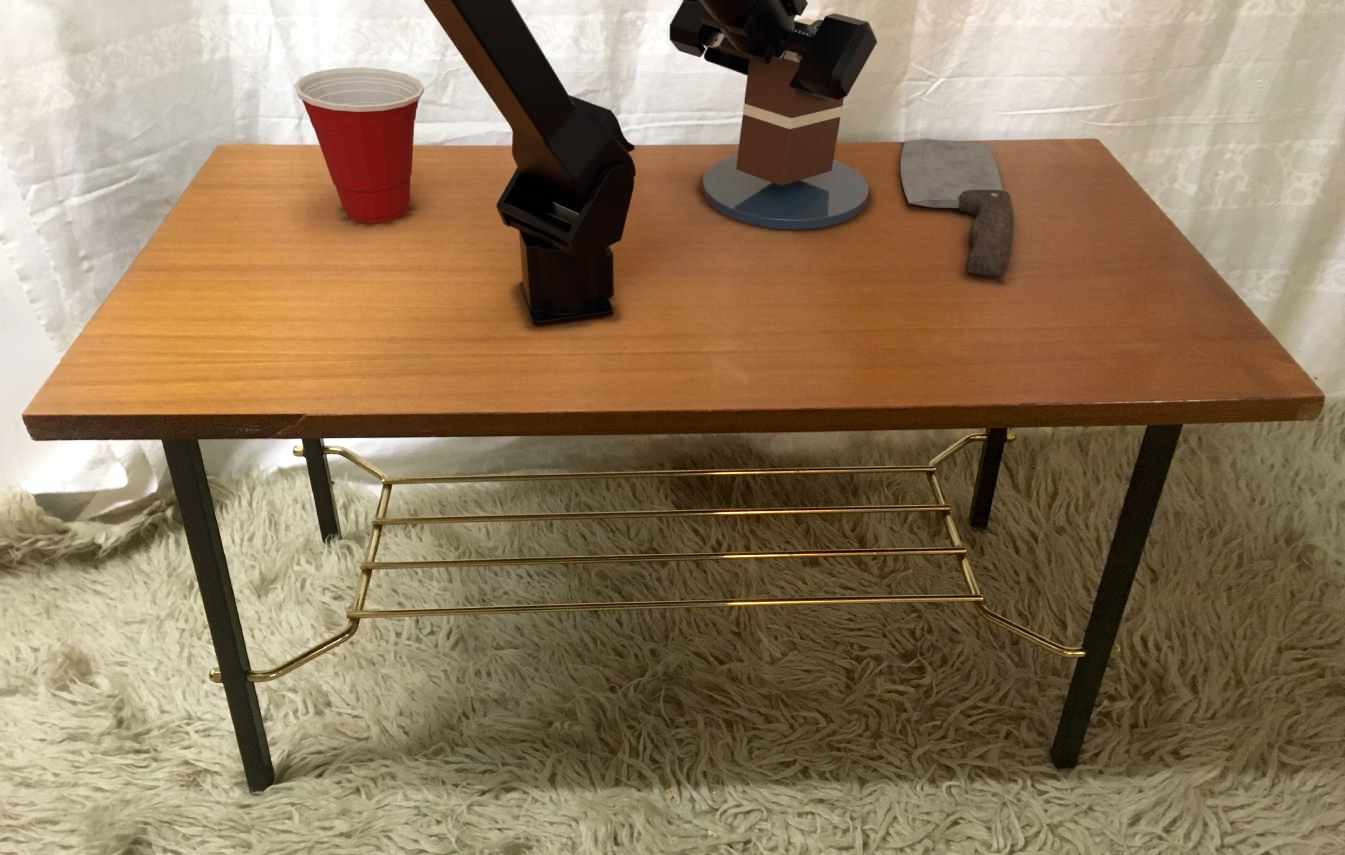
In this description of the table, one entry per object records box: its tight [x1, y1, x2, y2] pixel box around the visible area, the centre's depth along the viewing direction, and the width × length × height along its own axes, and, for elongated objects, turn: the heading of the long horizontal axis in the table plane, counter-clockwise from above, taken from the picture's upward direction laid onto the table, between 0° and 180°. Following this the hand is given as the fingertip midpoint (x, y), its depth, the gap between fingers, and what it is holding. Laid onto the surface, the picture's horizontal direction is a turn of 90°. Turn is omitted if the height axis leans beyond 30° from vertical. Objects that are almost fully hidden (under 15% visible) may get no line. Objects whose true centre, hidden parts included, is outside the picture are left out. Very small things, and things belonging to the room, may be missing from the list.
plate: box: [702, 154, 870, 231], centre depth 103 cm, size 16×16×1 cm
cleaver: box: [899, 138, 1015, 277], centre depth 101 cm, size 29×10×2 cm, turn 173°
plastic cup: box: [293, 67, 425, 224], centre depth 95 cm, size 11×11×12 cm
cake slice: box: [736, 18, 845, 186], centre depth 98 cm, size 8×6×13 cm
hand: (802, 88), depth 98 cm, fingers closed on cake slice, 5 cm apart
